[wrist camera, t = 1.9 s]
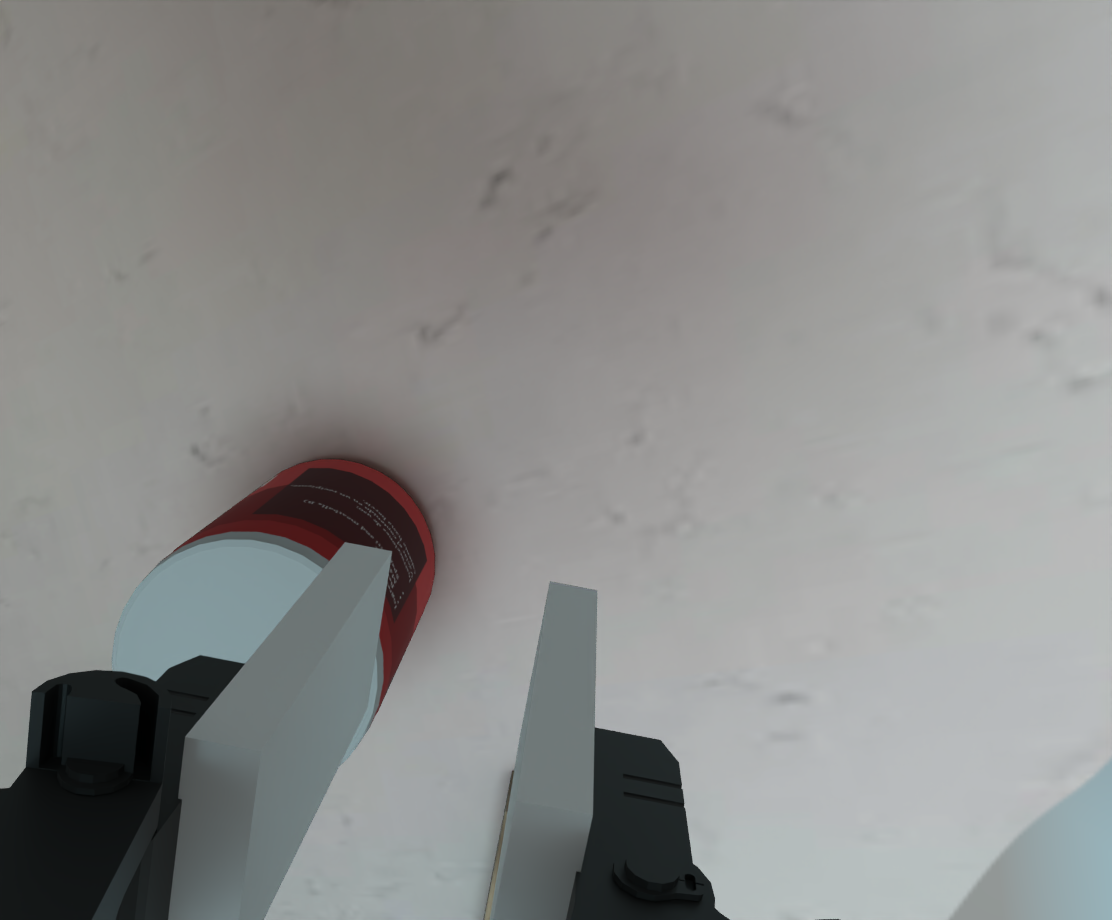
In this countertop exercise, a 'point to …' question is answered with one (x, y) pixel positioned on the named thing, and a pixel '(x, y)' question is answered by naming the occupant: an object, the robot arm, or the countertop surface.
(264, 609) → the canned food
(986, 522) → the countertop surface
